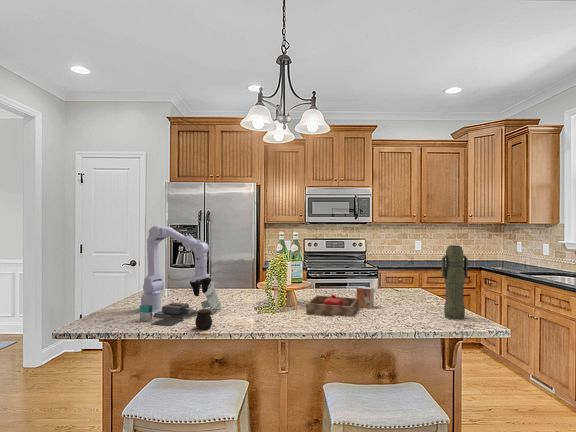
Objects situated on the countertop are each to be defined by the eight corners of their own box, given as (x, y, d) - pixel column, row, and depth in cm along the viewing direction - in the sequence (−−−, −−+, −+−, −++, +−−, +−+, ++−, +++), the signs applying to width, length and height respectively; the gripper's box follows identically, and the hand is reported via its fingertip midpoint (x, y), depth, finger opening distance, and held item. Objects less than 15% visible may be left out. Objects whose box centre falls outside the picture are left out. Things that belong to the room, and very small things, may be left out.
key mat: (151, 324, 170) (151, 323, 170) (165, 319, 179) (165, 318, 179) (170, 326, 166) (170, 325, 166) (183, 321, 176) (183, 319, 176)
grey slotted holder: (162, 312, 184) (162, 306, 184) (173, 308, 192) (173, 302, 192) (190, 315, 179) (190, 309, 179) (201, 311, 187) (201, 305, 187)
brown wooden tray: (306, 313, 190) (306, 303, 190) (316, 304, 211) (316, 295, 211) (351, 317, 183) (352, 307, 183) (358, 307, 203) (358, 298, 203)
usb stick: (138, 320, 176) (138, 305, 176) (142, 319, 179) (142, 304, 179) (149, 321, 174) (149, 306, 174) (153, 320, 177) (153, 305, 177)
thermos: (437, 317, 183) (437, 245, 184) (460, 316, 185) (460, 245, 186) (448, 322, 175) (448, 246, 175) (471, 321, 177) (471, 246, 177)
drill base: (154, 316, 183) (154, 313, 183) (169, 310, 195) (169, 307, 195) (182, 319, 178) (182, 316, 178) (196, 313, 190) (196, 310, 190)
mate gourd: (197, 326, 167) (197, 303, 167) (214, 326, 167) (214, 303, 167) (193, 331, 160) (193, 307, 160) (210, 331, 160) (210, 307, 160)
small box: (356, 307, 205) (356, 287, 205) (359, 305, 210) (359, 286, 210) (370, 308, 201) (370, 288, 201) (373, 306, 206) (374, 287, 206)
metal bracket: (217, 317, 187) (206, 289, 185) (206, 320, 187) (195, 292, 186) (225, 306, 201) (215, 279, 199) (215, 309, 202) (205, 282, 200)
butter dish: (329, 307, 205) (329, 291, 205) (348, 310, 198) (348, 294, 198) (317, 311, 196) (317, 295, 196) (337, 315, 189) (337, 297, 189)
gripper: (200, 269, 180) (199, 297, 180) (215, 265, 193) (215, 292, 193) (187, 268, 182) (186, 296, 182) (203, 265, 196) (203, 291, 196)
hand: (200, 294), depth 188 cm, fingers open, 7 cm apart
